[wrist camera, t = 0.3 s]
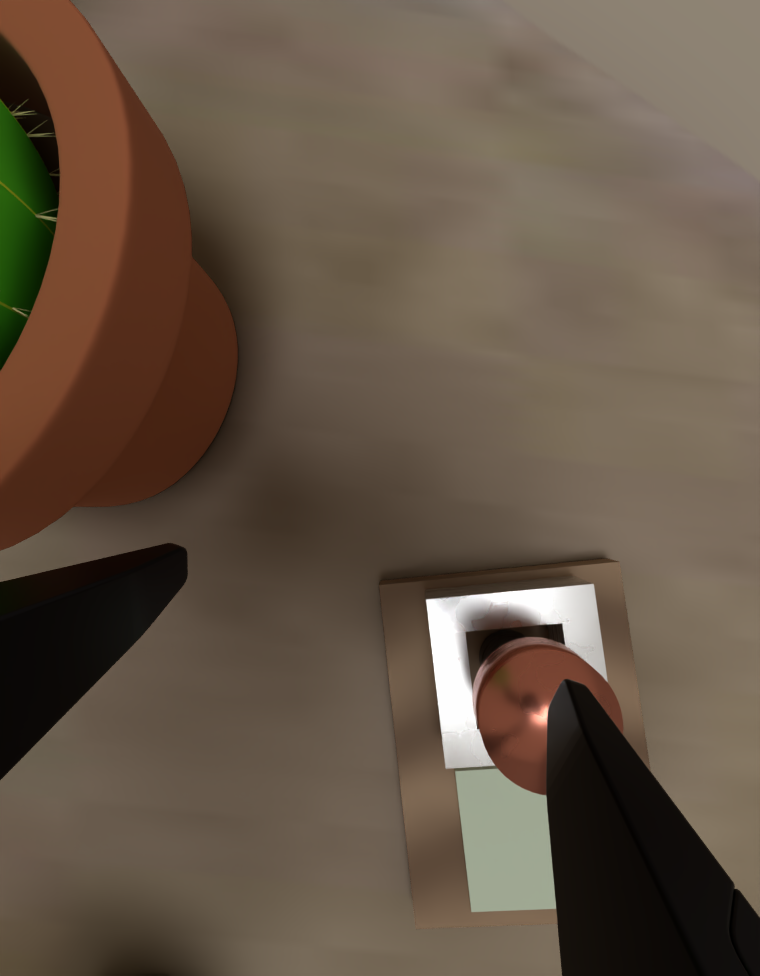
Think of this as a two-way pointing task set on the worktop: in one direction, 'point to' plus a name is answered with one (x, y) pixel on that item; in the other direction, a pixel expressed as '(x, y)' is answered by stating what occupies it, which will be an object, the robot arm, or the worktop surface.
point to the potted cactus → (95, 285)
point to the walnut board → (419, 731)
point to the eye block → (496, 607)
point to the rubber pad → (504, 842)
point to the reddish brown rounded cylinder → (527, 700)
